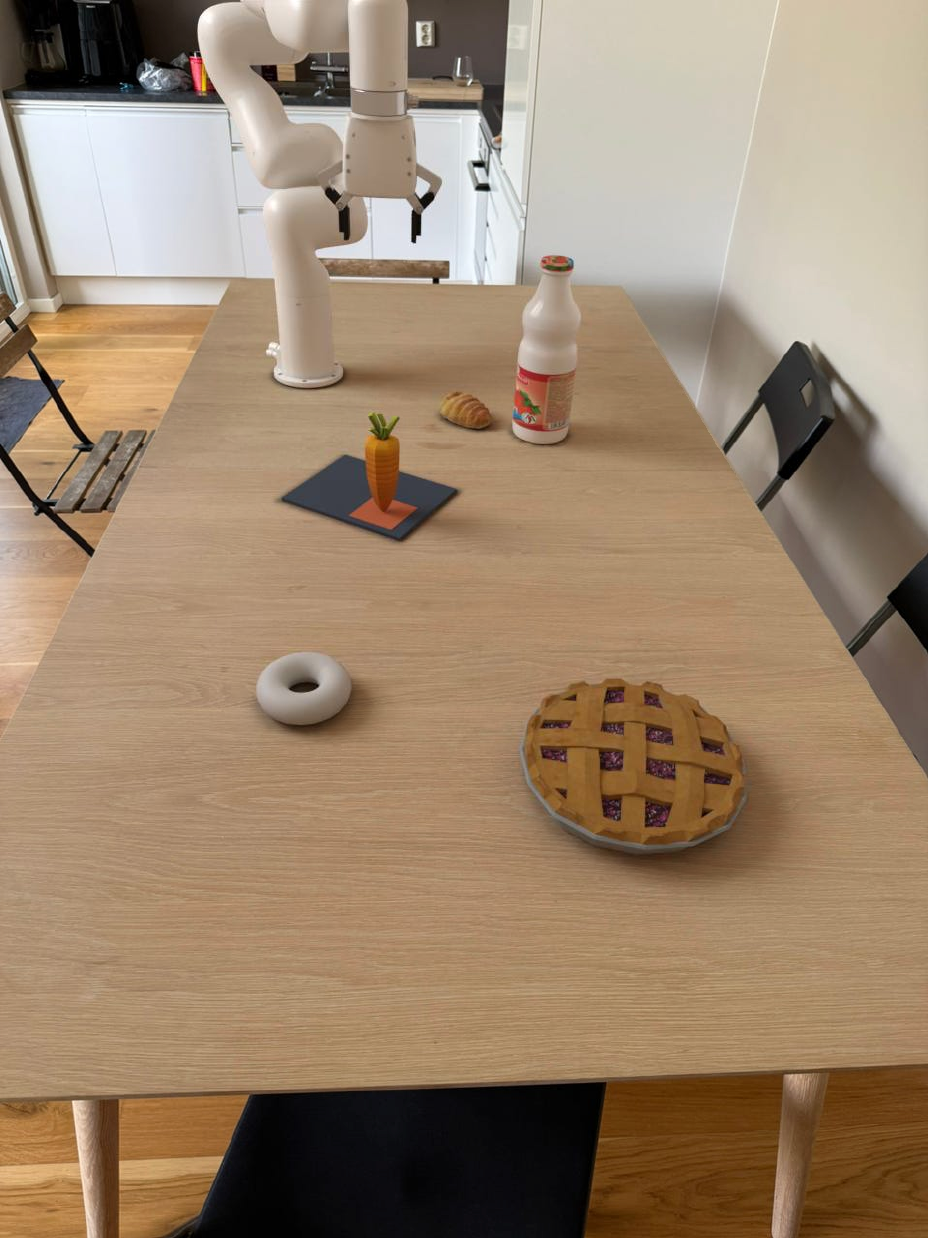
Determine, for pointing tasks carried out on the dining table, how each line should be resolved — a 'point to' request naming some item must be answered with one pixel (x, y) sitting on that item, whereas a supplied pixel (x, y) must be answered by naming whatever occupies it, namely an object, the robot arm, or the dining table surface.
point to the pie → (633, 766)
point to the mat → (369, 498)
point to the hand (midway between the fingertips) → (380, 239)
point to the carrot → (382, 460)
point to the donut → (309, 704)
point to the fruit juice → (547, 357)
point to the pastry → (465, 410)
